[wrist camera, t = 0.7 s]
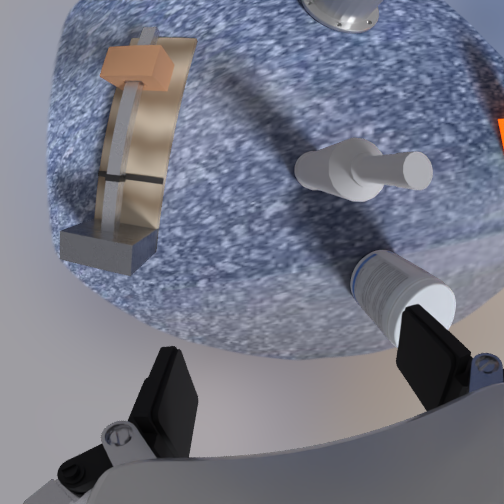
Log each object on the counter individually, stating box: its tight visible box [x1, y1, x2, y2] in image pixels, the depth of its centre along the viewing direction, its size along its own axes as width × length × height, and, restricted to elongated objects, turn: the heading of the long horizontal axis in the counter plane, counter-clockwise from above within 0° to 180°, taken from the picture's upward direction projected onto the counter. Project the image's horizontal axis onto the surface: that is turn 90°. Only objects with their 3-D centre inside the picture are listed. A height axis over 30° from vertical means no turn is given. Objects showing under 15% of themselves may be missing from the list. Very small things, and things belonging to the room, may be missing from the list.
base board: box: [95, 38, 198, 249], centre depth 34 cm, size 31×10×1 cm, turn 169°
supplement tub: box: [350, 250, 456, 348], centre depth 34 cm, size 10×10×15 cm
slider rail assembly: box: [60, 27, 160, 276], centre depth 30 cm, size 30×10×10 cm, turn 169°
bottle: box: [294, 138, 433, 202], centre depth 24 cm, size 5×5×25 cm
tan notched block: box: [100, 45, 174, 91], centre depth 27 cm, size 4×7×7 cm, turn 79°
